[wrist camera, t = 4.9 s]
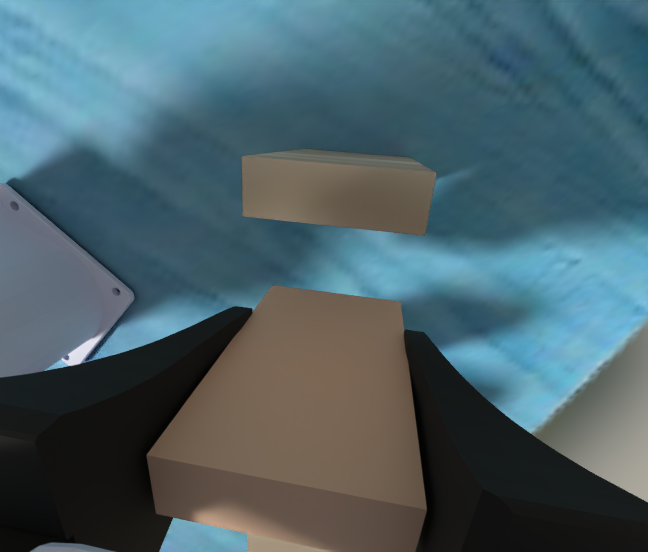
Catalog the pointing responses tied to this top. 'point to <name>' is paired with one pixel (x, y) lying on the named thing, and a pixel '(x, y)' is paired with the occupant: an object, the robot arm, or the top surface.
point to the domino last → (339, 190)
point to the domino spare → (302, 430)
